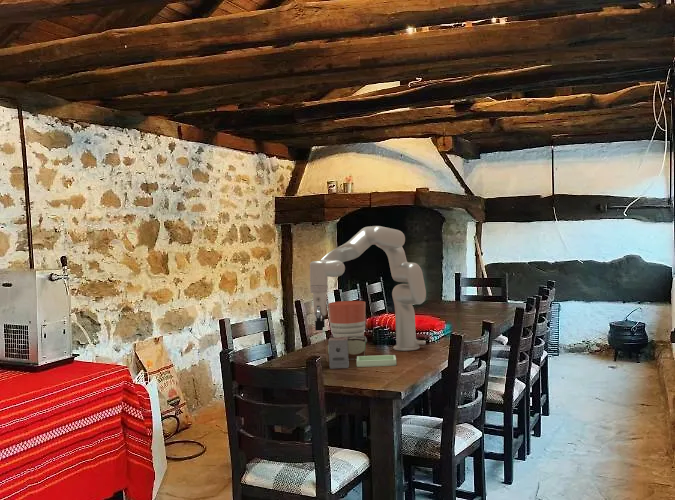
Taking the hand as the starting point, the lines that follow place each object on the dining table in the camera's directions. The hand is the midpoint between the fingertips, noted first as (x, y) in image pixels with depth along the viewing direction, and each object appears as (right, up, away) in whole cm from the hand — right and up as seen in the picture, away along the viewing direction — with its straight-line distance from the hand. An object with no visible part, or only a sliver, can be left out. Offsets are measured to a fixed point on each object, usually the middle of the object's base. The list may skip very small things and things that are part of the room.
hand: (320, 328), depth 265 cm
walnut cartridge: (+5, -16, +11) cm, 20 cm away
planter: (+13, -15, +56) cm, 60 cm away
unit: (+8, -16, -1) cm, 18 cm away
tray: (+25, -15, +1) cm, 29 cm away
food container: (+16, -16, +16) cm, 28 cm away
